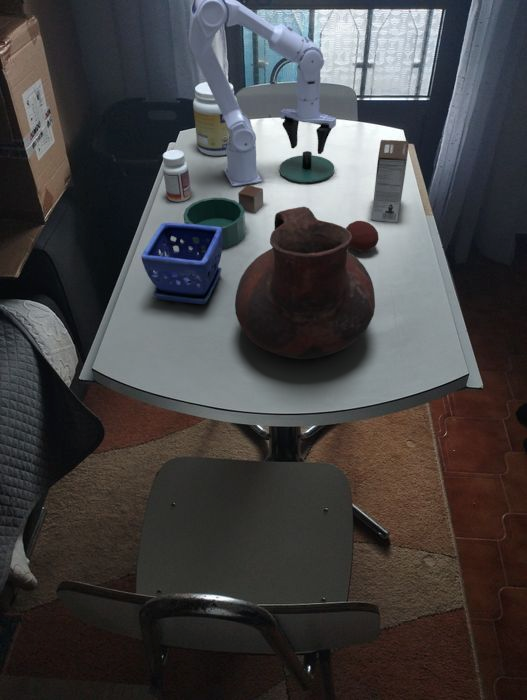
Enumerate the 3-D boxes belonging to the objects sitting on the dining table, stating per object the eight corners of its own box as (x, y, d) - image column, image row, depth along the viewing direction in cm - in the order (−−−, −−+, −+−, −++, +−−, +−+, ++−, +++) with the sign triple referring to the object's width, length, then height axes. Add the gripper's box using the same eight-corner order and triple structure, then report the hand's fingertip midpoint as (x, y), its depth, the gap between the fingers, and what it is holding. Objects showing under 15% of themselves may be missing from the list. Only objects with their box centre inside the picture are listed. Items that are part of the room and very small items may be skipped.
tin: (181, 223, 143) (178, 203, 139) (237, 214, 145) (235, 193, 141) (193, 254, 133) (190, 233, 129) (251, 243, 135) (250, 222, 132)
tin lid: (272, 163, 164) (272, 145, 160) (322, 155, 166) (323, 137, 163) (289, 188, 154) (289, 169, 150) (342, 179, 156) (343, 160, 153)
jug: (359, 289, 122) (370, 176, 105) (381, 377, 104) (399, 258, 87) (237, 294, 122) (228, 182, 105) (237, 384, 104) (227, 266, 87)
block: (239, 209, 147) (238, 192, 144) (248, 200, 150) (247, 184, 146) (254, 213, 145) (254, 196, 142) (263, 204, 148) (262, 188, 145)
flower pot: (147, 305, 120) (137, 256, 112) (169, 267, 130) (161, 219, 122) (211, 313, 118) (205, 263, 110) (228, 274, 127) (224, 225, 119)
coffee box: (373, 201, 148) (380, 138, 136) (400, 203, 146) (409, 140, 135) (370, 221, 141) (377, 156, 130) (398, 223, 140) (407, 158, 129)
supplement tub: (227, 160, 166) (222, 98, 154) (189, 152, 170) (182, 91, 158) (247, 142, 174) (244, 82, 162) (211, 135, 178) (205, 76, 166)
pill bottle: (187, 188, 155) (182, 146, 147) (194, 199, 151) (189, 157, 143) (164, 193, 154) (158, 151, 146) (170, 204, 149) (163, 161, 142)
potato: (348, 260, 130) (350, 236, 126) (337, 239, 136) (339, 216, 131) (381, 255, 131) (384, 232, 126) (368, 235, 137) (371, 212, 132)
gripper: (342, 95, 146) (339, 148, 156) (289, 86, 152) (289, 138, 161) (330, 105, 142) (327, 159, 151) (276, 96, 147) (277, 149, 157)
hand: (307, 149), depth 156 cm, fingers open, 7 cm apart
